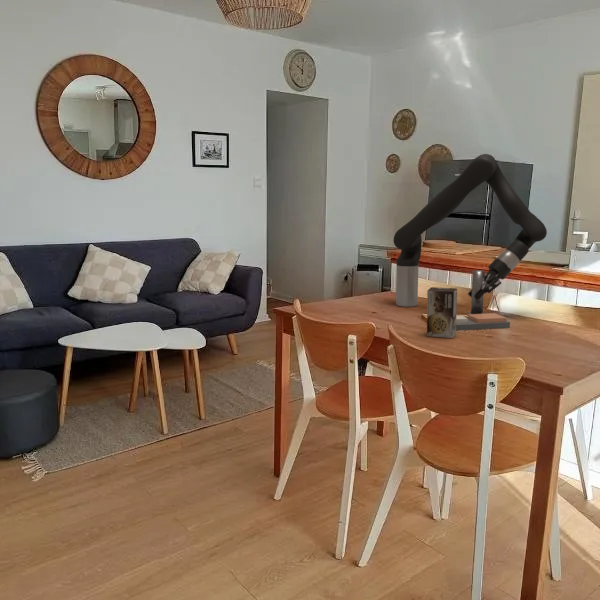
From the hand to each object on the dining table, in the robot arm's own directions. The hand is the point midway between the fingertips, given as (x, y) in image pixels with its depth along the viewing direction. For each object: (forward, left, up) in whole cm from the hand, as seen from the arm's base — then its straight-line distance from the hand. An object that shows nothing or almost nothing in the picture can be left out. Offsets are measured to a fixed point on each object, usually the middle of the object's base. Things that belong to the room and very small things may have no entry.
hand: (472, 296), depth 221 cm
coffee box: (+21, -21, -9) cm, 31 cm away
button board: (+11, -4, -9) cm, 15 cm away
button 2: (+11, 0, -7) cm, 13 cm away
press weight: (0, +2, -8) cm, 8 cm away
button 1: (+11, -11, -7) cm, 17 cm away
